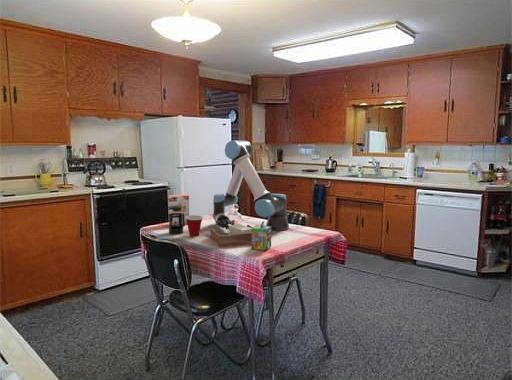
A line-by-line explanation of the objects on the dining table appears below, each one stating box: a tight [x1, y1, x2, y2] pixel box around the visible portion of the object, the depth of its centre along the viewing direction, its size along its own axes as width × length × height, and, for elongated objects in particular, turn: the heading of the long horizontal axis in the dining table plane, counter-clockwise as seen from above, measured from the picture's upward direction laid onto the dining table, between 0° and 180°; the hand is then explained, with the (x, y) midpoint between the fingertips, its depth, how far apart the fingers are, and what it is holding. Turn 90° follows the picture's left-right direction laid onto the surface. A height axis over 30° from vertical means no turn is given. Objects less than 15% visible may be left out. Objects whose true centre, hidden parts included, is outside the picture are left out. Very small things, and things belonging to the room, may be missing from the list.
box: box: [210, 224, 254, 248], centre depth 215 cm, size 22×24×6 cm
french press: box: [167, 197, 186, 236], centre depth 233 cm, size 12×9×23 cm
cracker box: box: [167, 194, 190, 226], centre depth 254 cm, size 14×6×21 cm, turn 104°
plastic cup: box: [185, 214, 204, 238], centre depth 225 cm, size 11×11×12 cm
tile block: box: [228, 224, 252, 235], centre depth 214 cm, size 14×7×8 cm, turn 38°
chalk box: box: [251, 220, 272, 252], centre depth 198 cm, size 9×9×15 cm
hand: (231, 228), depth 218 cm, fingers closed
